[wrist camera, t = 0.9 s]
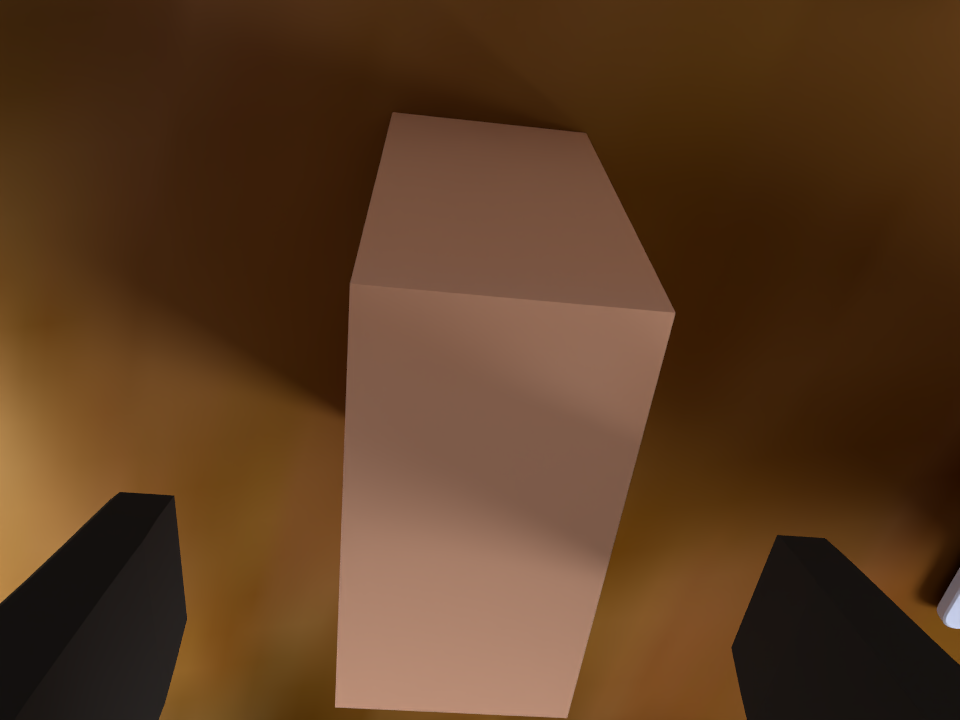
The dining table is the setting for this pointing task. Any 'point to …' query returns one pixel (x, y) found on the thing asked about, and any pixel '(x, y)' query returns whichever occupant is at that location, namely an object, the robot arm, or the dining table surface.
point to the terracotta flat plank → (488, 416)
